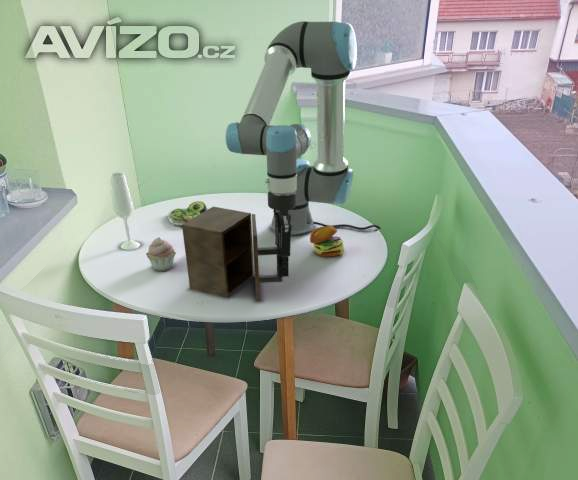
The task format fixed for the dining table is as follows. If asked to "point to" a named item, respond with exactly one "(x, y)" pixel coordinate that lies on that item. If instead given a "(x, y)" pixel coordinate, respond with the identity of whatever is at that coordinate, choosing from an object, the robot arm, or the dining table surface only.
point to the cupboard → (219, 251)
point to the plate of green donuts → (186, 213)
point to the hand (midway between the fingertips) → (282, 274)
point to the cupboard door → (257, 252)
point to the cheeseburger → (326, 241)
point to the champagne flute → (122, 205)
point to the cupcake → (161, 255)
